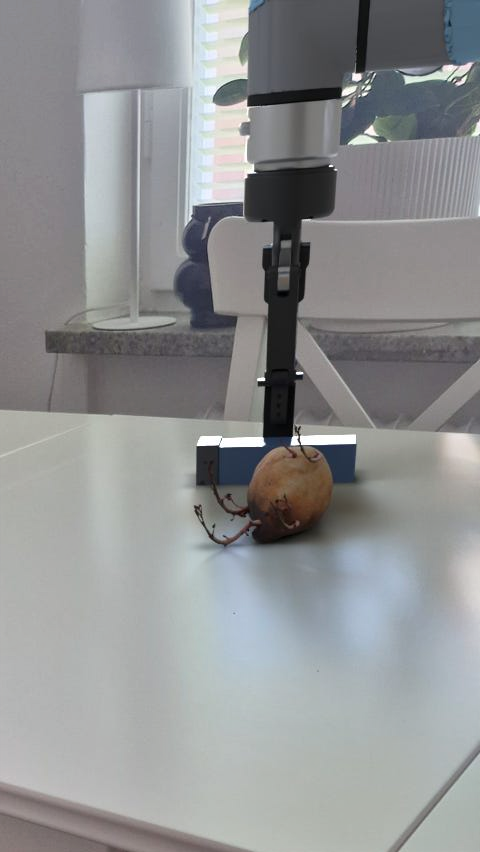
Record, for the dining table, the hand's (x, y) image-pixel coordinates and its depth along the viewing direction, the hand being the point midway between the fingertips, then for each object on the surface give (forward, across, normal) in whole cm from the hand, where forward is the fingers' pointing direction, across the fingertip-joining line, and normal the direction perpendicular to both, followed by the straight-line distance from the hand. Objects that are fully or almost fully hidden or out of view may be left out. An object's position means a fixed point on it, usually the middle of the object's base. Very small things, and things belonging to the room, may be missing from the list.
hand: (276, 457), depth 108 cm
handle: (+2, +2, 0) cm, 3 cm away
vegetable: (+2, +16, -1) cm, 16 cm away
